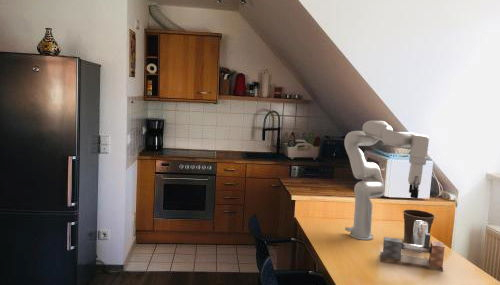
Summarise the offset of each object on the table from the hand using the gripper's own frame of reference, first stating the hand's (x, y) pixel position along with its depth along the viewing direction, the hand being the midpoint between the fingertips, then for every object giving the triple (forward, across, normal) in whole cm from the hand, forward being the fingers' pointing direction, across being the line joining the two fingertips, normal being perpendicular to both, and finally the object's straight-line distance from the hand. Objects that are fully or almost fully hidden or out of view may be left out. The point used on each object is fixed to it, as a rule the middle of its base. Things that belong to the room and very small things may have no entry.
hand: (413, 195), depth 195 cm
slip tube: (+25, +7, +4) cm, 26 cm away
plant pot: (+32, -27, +7) cm, 43 cm away
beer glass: (+32, -13, +7) cm, 35 cm away
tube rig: (+31, +7, +1) cm, 32 cm away
